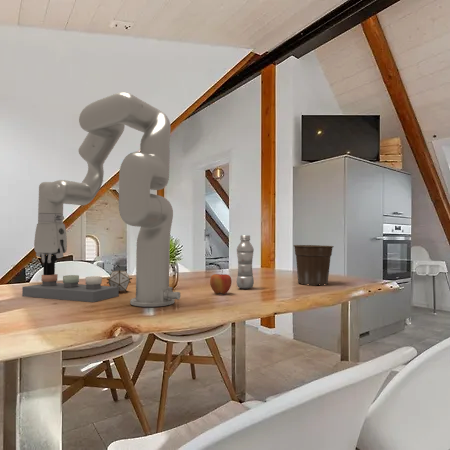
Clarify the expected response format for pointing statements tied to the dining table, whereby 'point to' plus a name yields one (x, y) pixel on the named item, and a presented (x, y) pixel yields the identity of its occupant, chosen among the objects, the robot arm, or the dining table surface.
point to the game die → (119, 279)
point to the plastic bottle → (245, 263)
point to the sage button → (70, 281)
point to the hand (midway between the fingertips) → (49, 274)
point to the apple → (220, 283)
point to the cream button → (93, 282)
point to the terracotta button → (49, 280)
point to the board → (70, 292)
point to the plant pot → (313, 263)
